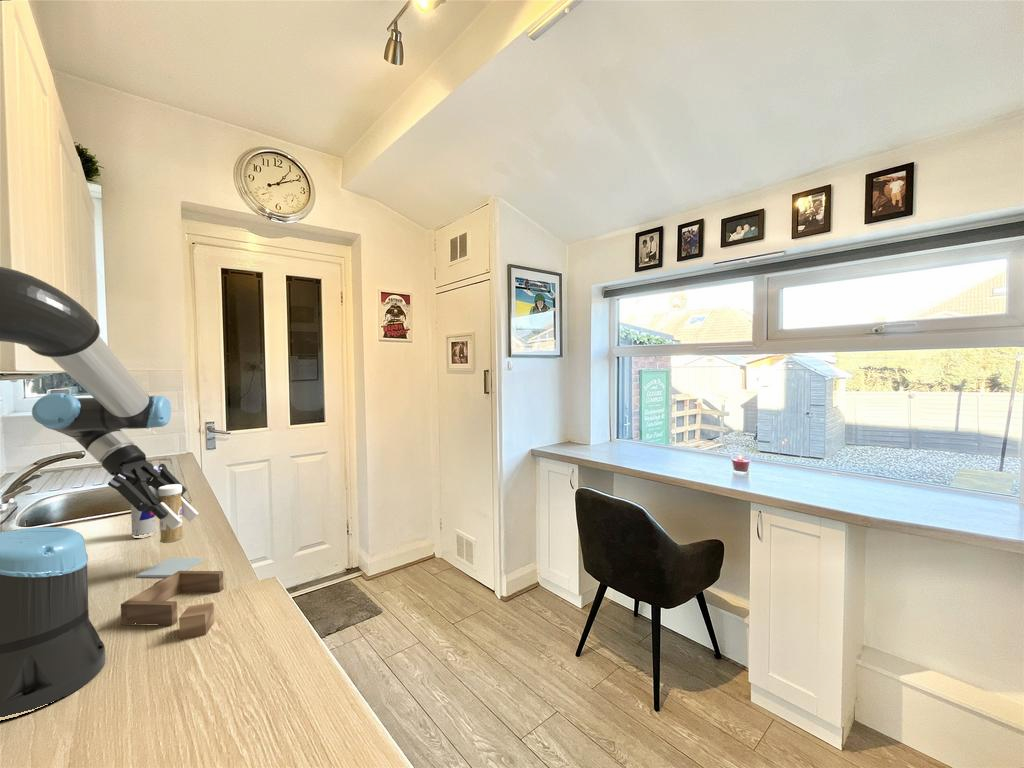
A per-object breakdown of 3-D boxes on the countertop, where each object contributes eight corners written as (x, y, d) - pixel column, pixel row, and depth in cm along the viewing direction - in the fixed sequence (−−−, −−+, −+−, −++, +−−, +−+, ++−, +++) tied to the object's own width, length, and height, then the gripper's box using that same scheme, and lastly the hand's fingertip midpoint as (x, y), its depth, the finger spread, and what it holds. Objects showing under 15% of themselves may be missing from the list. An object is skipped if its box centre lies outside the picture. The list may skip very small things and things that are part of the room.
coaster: (174, 577, 98) (174, 575, 98) (137, 577, 98) (137, 574, 98) (203, 560, 107) (203, 558, 107) (169, 560, 107) (169, 557, 107)
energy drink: (159, 534, 125) (157, 494, 124) (135, 541, 120) (134, 499, 120) (152, 531, 127) (150, 492, 127) (129, 537, 123) (127, 496, 123)
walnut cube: (205, 635, 76) (205, 613, 76) (179, 639, 75) (179, 617, 75) (214, 622, 80) (213, 602, 80) (189, 626, 79) (188, 605, 79)
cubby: (172, 625, 79) (171, 604, 79) (121, 624, 80) (120, 604, 80) (223, 588, 93) (223, 571, 93) (179, 588, 93) (179, 570, 93)
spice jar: (182, 541, 102) (180, 486, 102) (158, 545, 100) (156, 489, 99) (184, 535, 106) (182, 482, 106) (161, 539, 104) (159, 485, 103)
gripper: (141, 457, 112) (203, 519, 112) (69, 474, 94) (143, 547, 94) (159, 437, 111) (222, 499, 111) (91, 450, 94) (165, 524, 94)
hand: (185, 521), depth 103 cm, fingers closed on spice jar, 4 cm apart
